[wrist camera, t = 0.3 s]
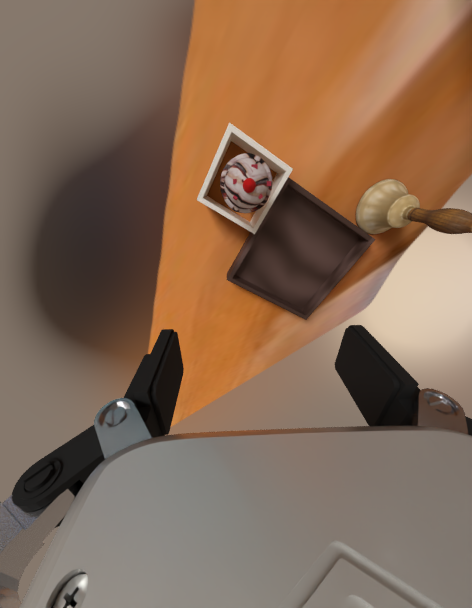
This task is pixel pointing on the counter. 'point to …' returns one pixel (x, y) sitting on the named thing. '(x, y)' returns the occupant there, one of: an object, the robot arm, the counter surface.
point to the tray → (298, 252)
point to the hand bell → (405, 211)
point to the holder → (254, 148)
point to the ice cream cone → (246, 183)
